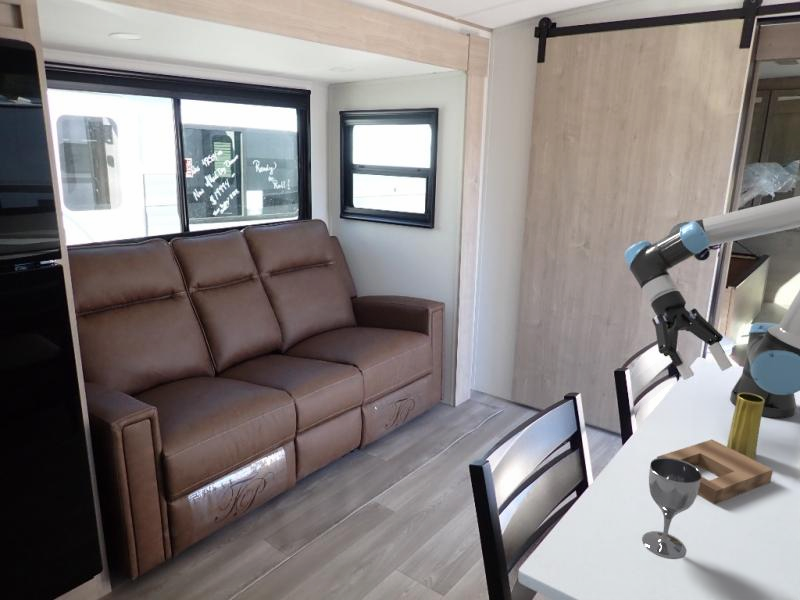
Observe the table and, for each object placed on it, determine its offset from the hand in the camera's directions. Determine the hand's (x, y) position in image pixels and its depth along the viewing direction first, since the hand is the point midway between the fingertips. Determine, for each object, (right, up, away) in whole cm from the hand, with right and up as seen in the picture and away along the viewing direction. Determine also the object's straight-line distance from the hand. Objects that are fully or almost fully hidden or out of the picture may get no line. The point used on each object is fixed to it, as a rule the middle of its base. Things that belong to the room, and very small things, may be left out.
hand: (708, 373), depth 137 cm
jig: (-7, -20, -14) cm, 25 cm away
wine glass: (-27, -26, -35) cm, 51 cm away
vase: (+5, -18, -5) cm, 19 cm away
